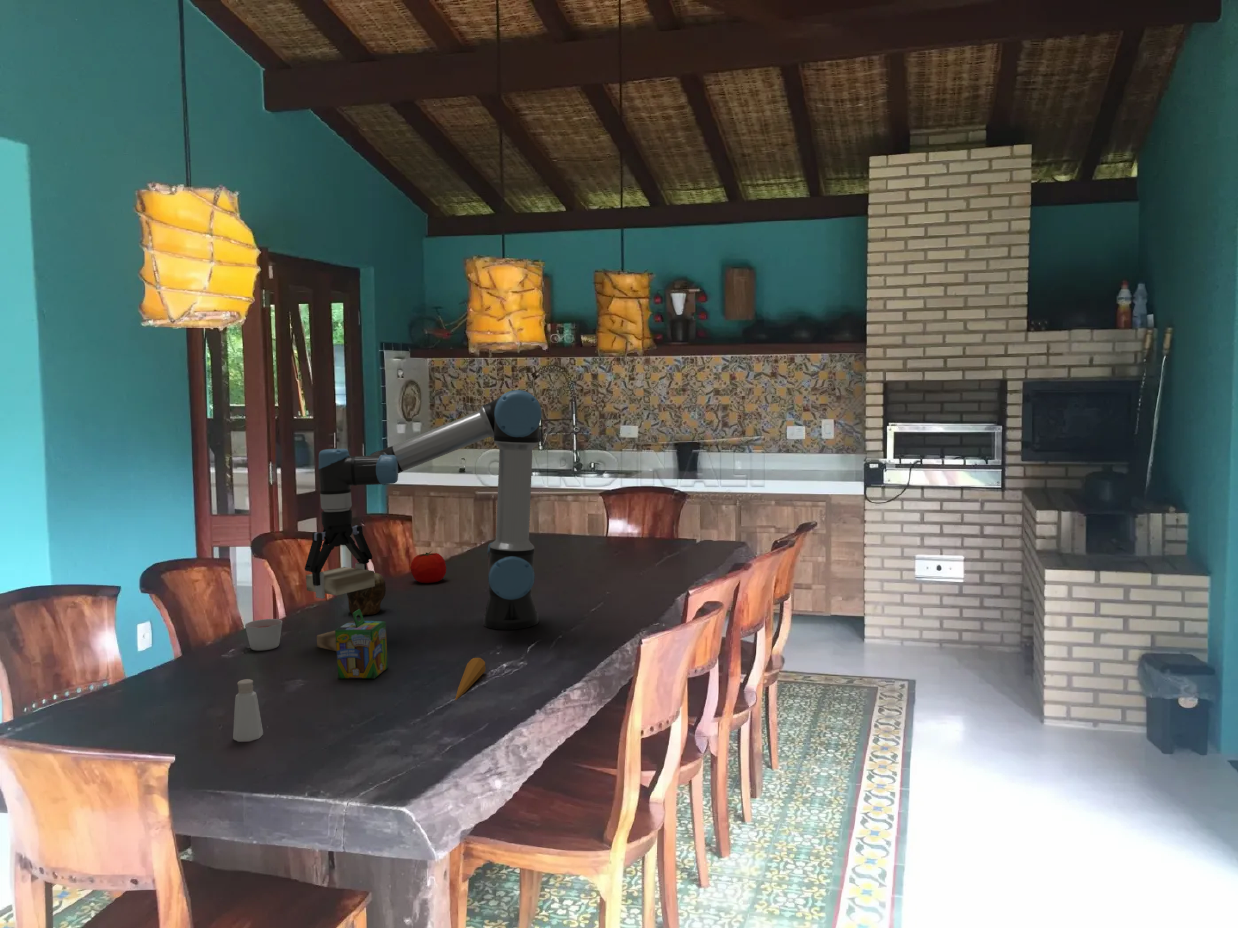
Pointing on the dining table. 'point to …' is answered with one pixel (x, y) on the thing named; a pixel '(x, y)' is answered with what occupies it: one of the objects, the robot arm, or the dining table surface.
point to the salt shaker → (246, 713)
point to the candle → (264, 634)
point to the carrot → (470, 675)
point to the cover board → (343, 580)
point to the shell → (368, 597)
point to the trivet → (327, 641)
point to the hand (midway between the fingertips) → (341, 592)
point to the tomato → (428, 567)
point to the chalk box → (361, 648)
